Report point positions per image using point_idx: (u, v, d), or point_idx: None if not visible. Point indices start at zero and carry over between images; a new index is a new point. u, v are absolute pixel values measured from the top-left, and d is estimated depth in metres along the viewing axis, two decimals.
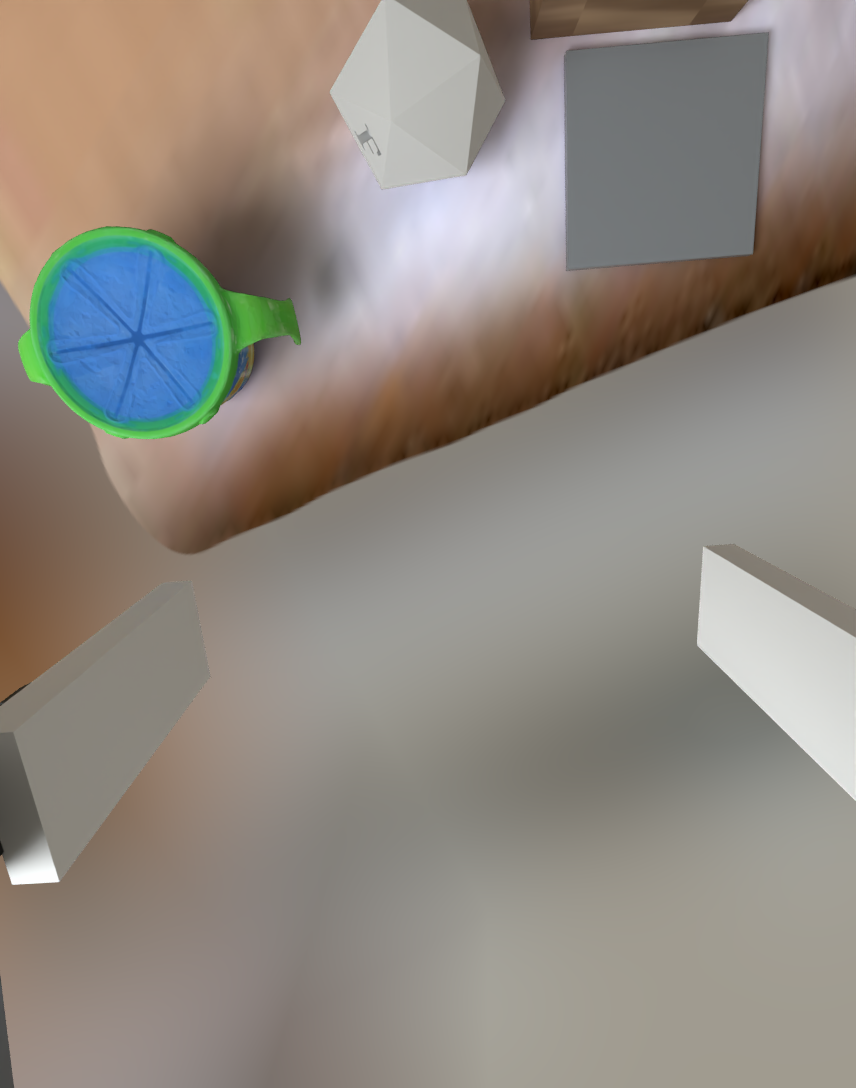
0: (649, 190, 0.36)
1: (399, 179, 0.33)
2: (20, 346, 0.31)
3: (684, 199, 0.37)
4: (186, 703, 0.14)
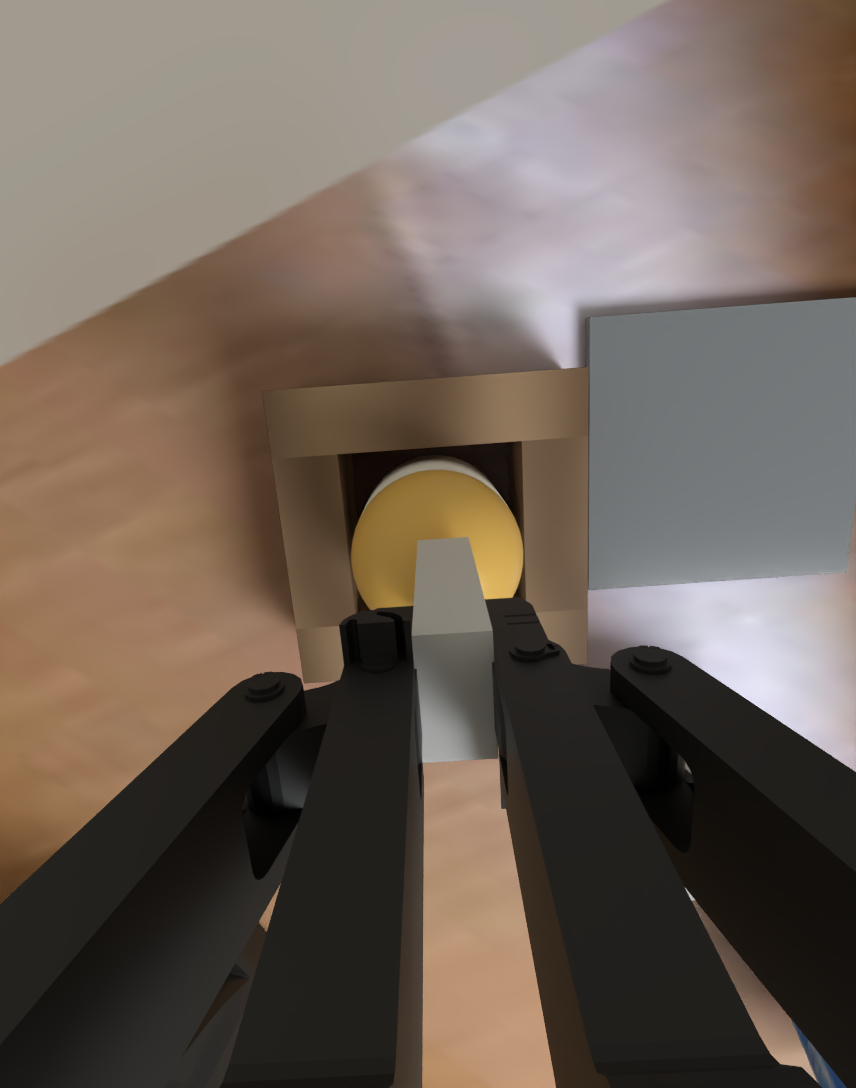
0: (765, 467, 0.25)
1: None
2: None
3: (786, 415, 0.25)
4: None
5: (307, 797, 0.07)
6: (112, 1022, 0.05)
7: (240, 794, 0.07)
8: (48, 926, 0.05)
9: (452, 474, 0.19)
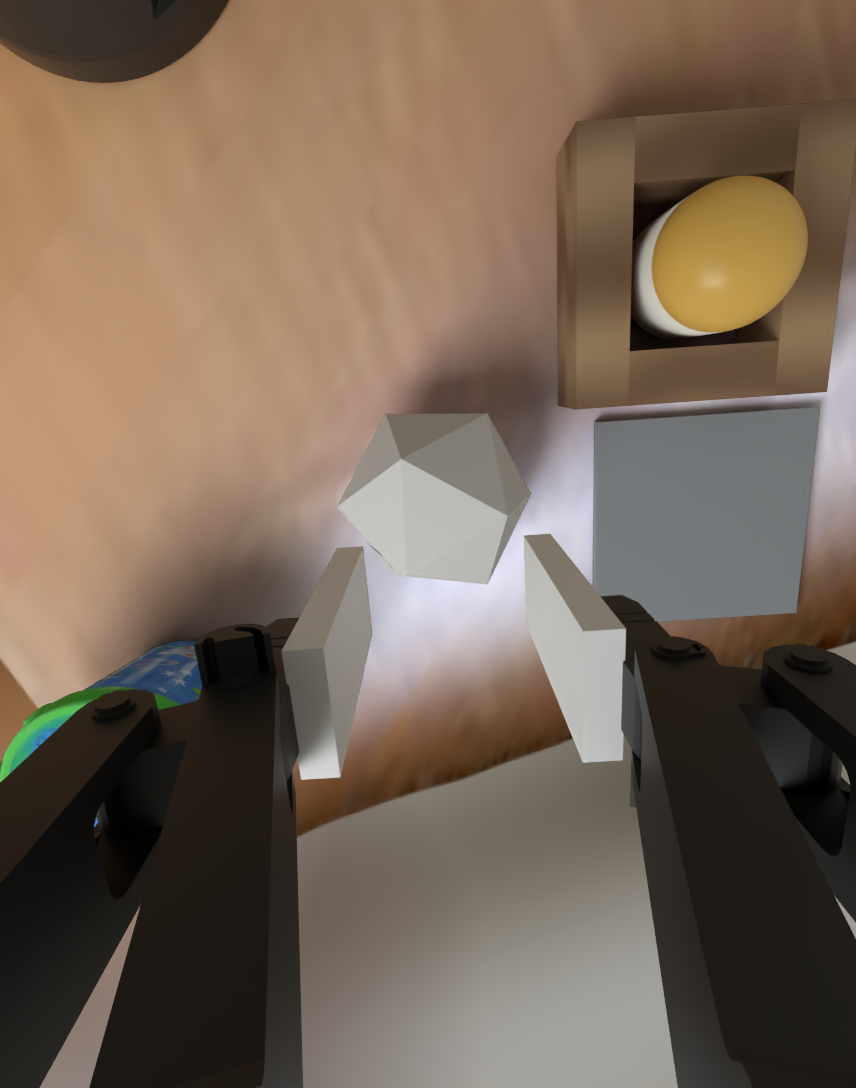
0: (685, 553, 0.33)
1: None
2: None
3: (722, 562, 0.33)
4: (366, 652, 0.16)
5: (165, 825, 0.06)
6: None
7: (90, 813, 0.07)
8: None
9: None
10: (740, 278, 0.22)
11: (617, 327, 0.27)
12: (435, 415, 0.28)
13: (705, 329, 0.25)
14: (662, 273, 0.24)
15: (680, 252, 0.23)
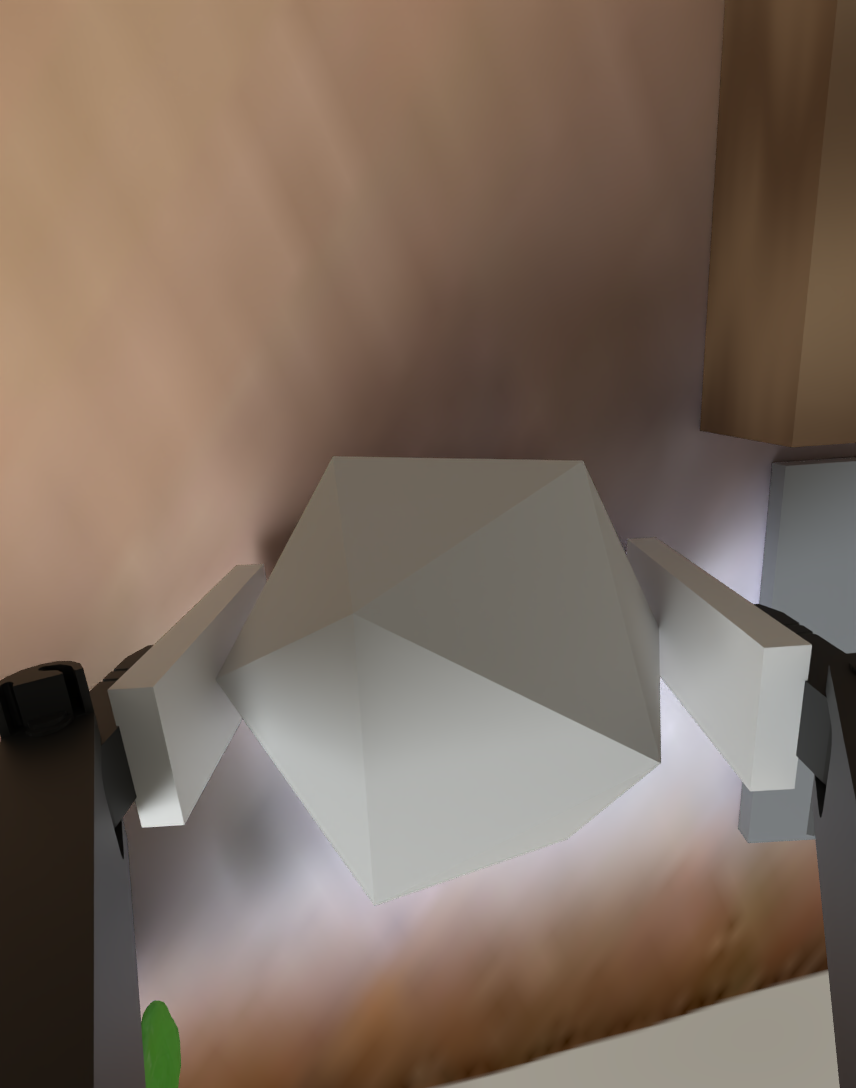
0: None
1: None
2: None
3: None
4: None
5: None
6: None
7: None
8: None
9: None
10: None
11: None
12: (449, 462, 0.11)
13: None
14: None
15: None
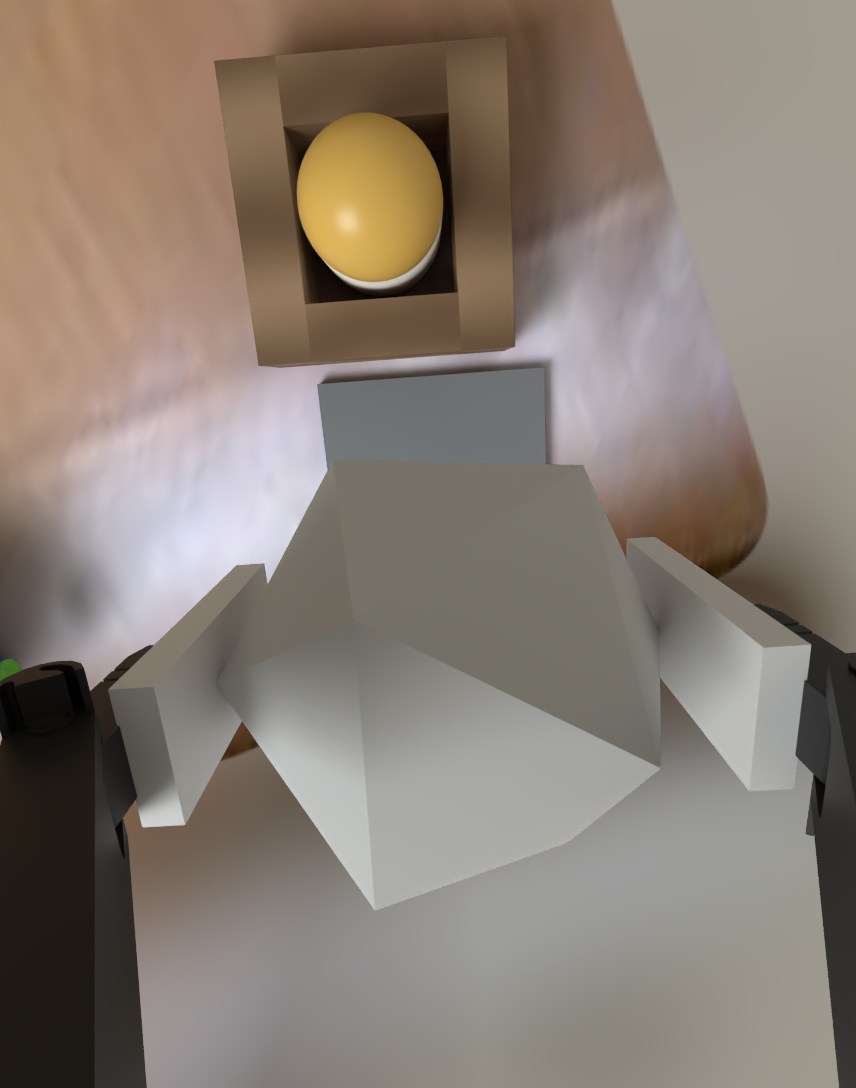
0: None
1: None
2: None
3: None
4: None
5: None
6: None
7: None
8: None
9: (441, 213, 0.23)
10: (350, 217, 0.22)
11: (288, 279, 0.26)
12: (449, 466, 0.11)
13: (358, 277, 0.24)
14: (300, 217, 0.23)
15: (301, 193, 0.22)
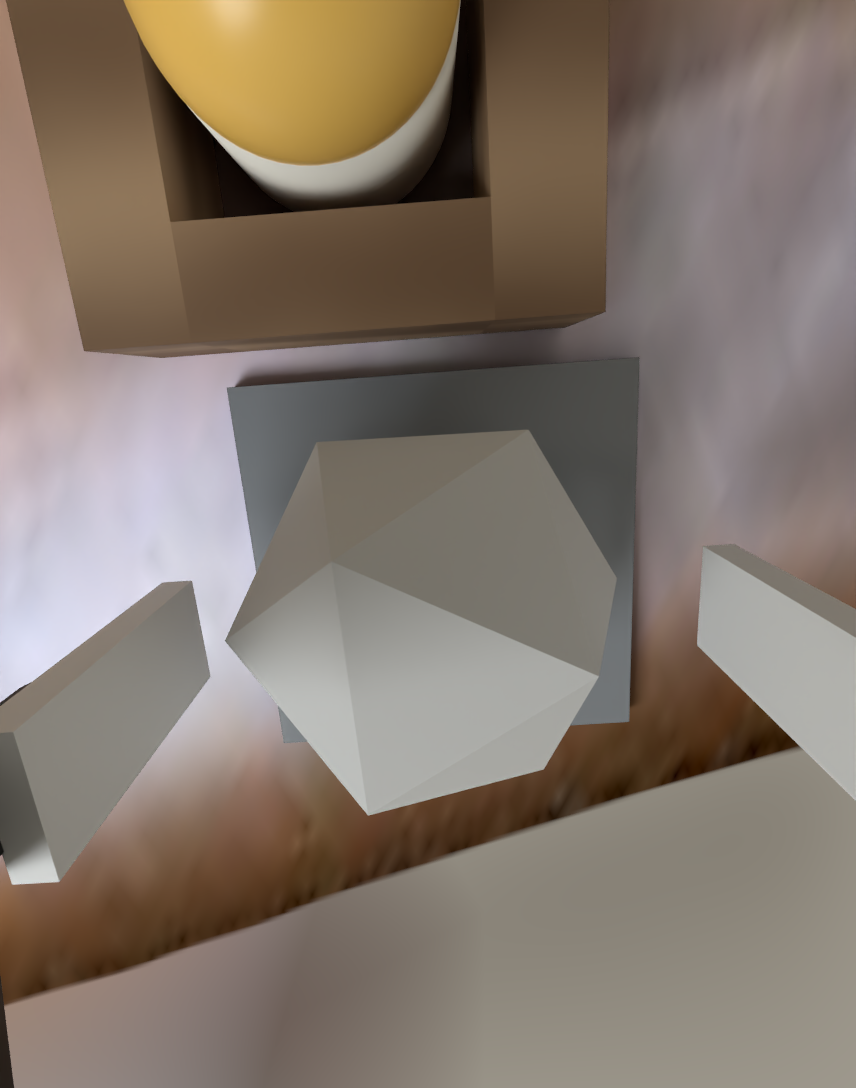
0: None
1: None
2: None
3: None
4: (186, 703, 0.14)
5: None
6: None
7: None
8: None
9: None
10: None
11: (132, 167, 0.12)
12: (416, 439, 0.13)
13: (267, 147, 0.11)
14: None
15: None
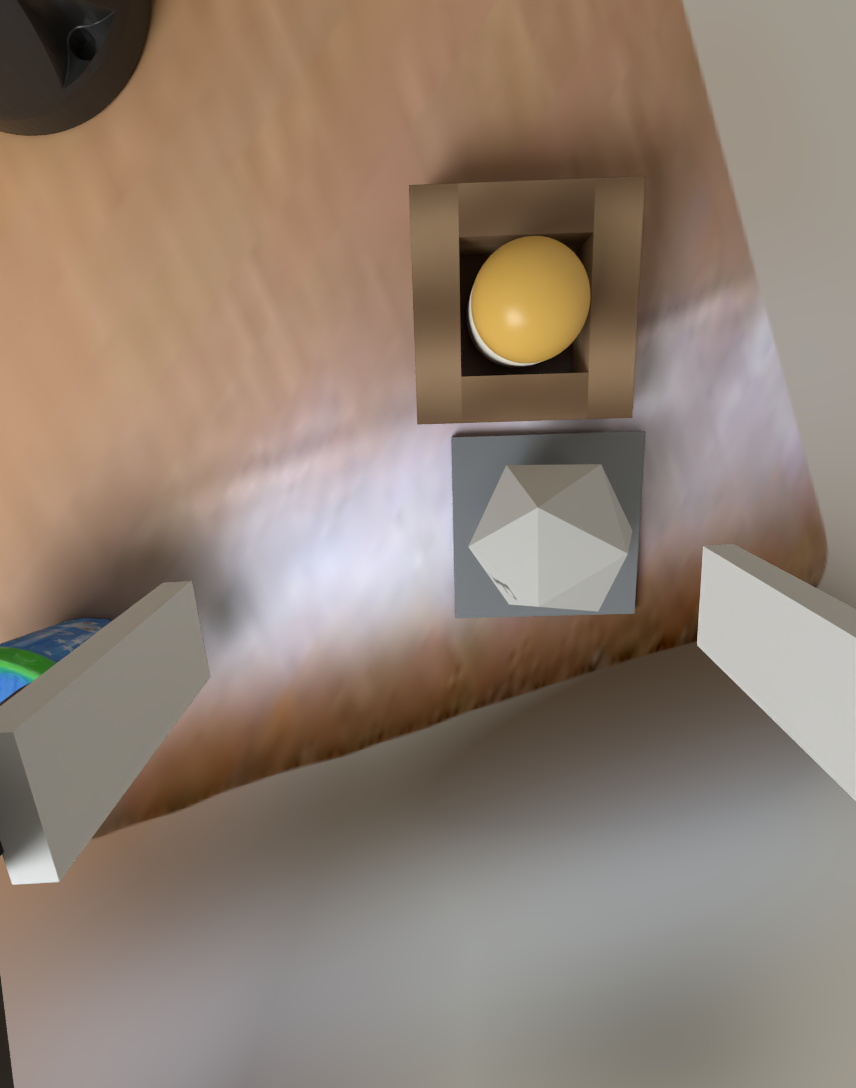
0: None
1: None
2: None
3: None
4: (186, 703, 0.14)
5: None
6: None
7: None
8: None
9: None
10: (525, 319, 0.27)
11: (450, 356, 0.31)
12: (553, 466, 0.32)
13: (514, 360, 0.30)
14: (474, 312, 0.29)
15: (482, 296, 0.28)
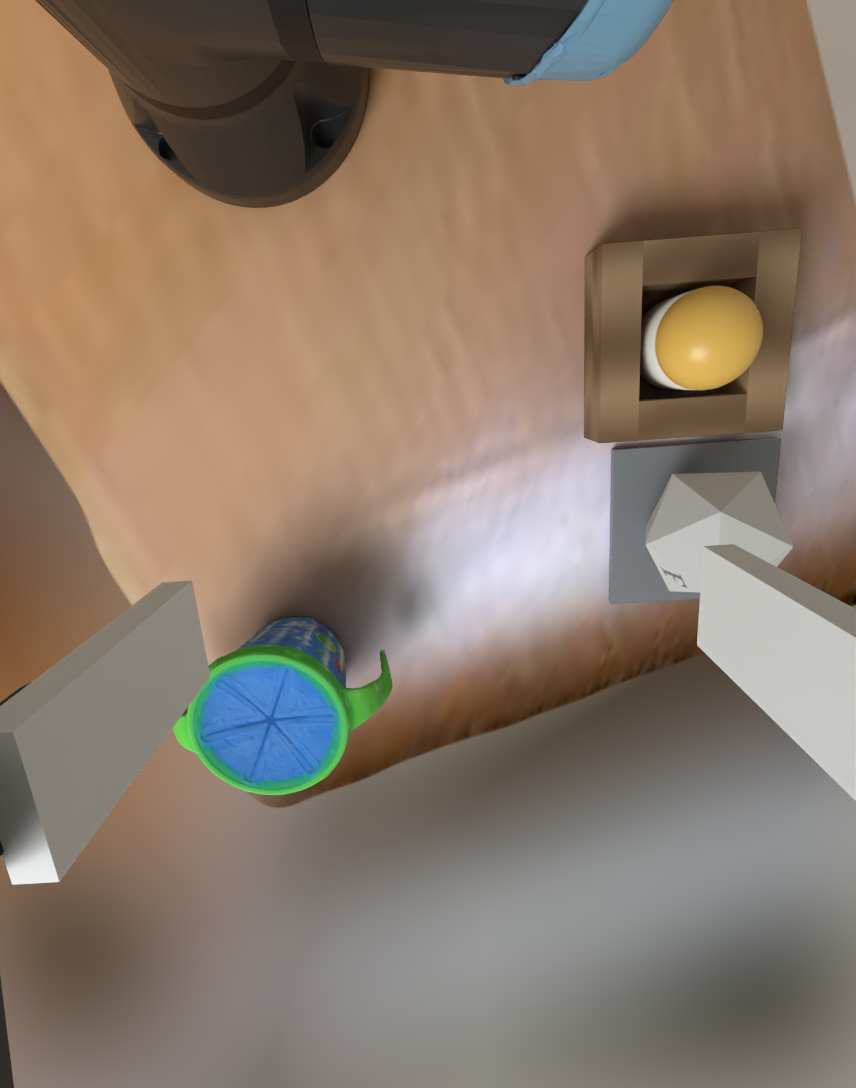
0: None
1: None
2: None
3: None
4: (186, 703, 0.14)
5: None
6: None
7: None
8: None
9: None
10: (716, 358, 0.33)
11: (630, 385, 0.37)
12: (716, 473, 0.38)
13: (693, 388, 0.35)
14: (662, 351, 0.35)
15: (675, 339, 0.34)
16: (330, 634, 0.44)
